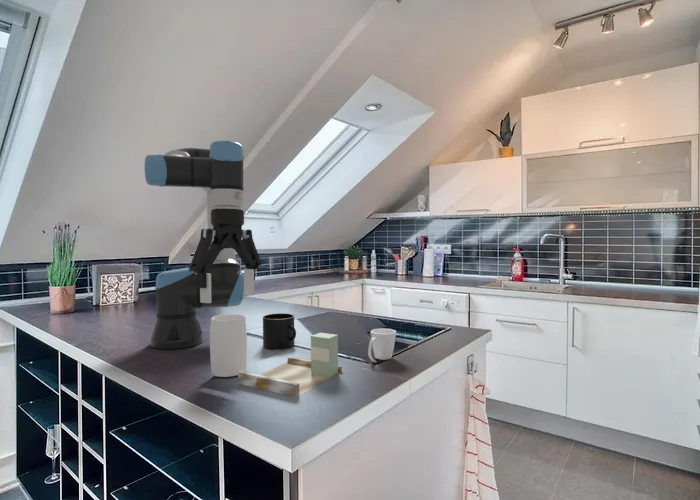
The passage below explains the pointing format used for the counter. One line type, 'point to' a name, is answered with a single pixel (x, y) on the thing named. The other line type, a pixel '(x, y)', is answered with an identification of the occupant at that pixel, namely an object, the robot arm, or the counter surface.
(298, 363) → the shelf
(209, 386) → the counter surface
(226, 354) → the cup
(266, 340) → the mug
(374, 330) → the cup
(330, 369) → the tea carton
